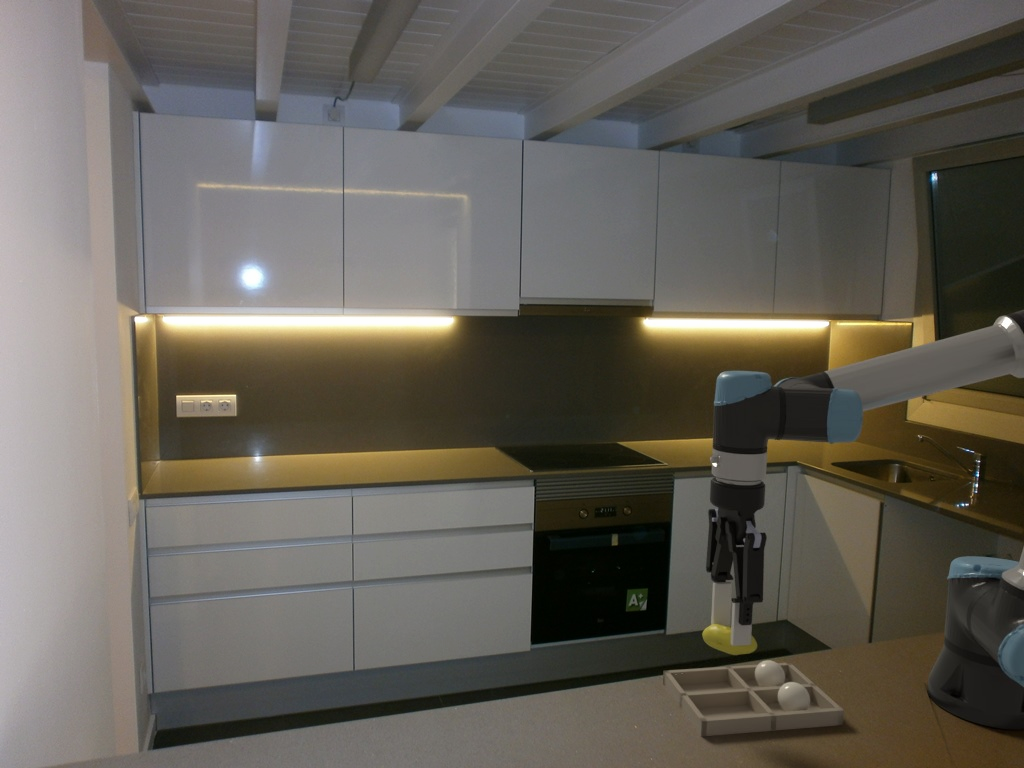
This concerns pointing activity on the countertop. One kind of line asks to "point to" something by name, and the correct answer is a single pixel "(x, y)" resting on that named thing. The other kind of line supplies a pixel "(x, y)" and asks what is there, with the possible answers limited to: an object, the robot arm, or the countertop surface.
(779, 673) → the egg back right
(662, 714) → the countertop surface
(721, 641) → the yellow oval piece
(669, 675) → the divided tray
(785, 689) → the egg back left
